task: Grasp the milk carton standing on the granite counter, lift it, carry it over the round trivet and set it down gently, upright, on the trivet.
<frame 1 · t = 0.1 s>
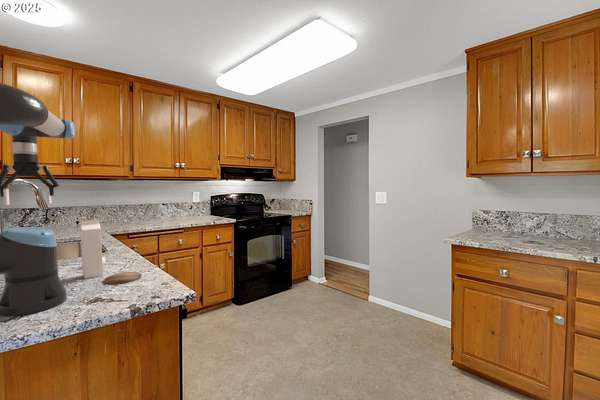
hand: (28, 204, 122), 28 cm above the countertop, fingers open, 13 cm apart
trivet: (123, 278, 110), on the countertop
cream rounded dome part: (96, 266, 128), on the countertop
milk: (93, 275, 115), on the countertop
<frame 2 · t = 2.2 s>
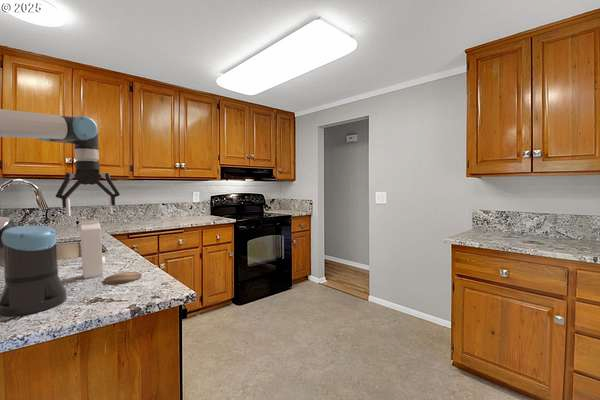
hand: (90, 215, 114), 24 cm above the countertop, fingers open, 13 cm apart
nothing on the countertop moved.
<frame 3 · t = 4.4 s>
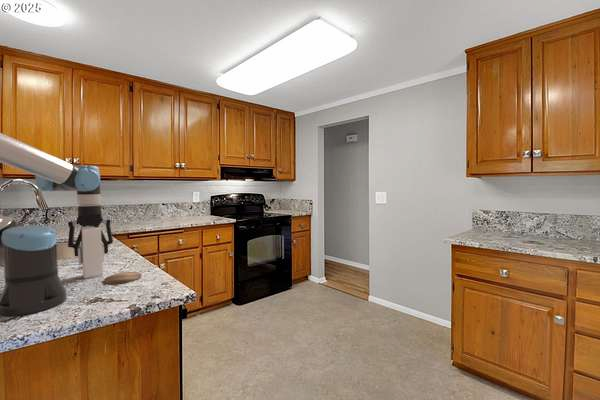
hand: (92, 262, 115), 5 cm above the countertop, fingers closed on milk, 7 cm apart
milk: (93, 275, 115), on the countertop, touching gripper
everything else where it was.
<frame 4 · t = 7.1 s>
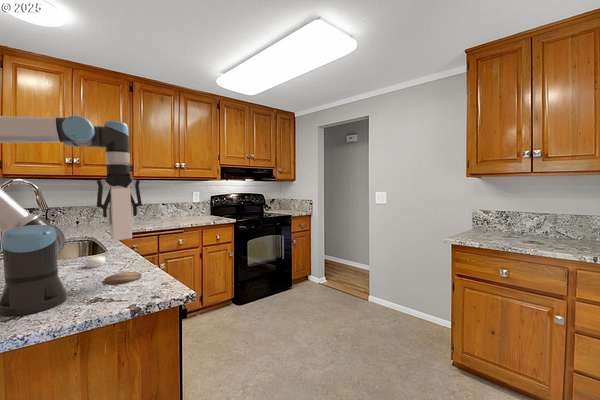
hand: (120, 225, 109), 21 cm above the countertop, fingers closed on milk, 7 cm apart
milk: (121, 238, 109), point 15 cm above the countertop, touching gripper
everything else where it was.
when the fingers open (7 cm above the countertop, at t = 9.9 s): milk stays where it is, resting on trivet.
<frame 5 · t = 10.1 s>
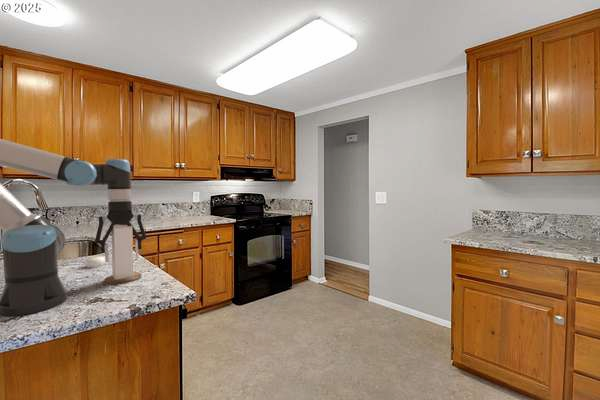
hand: (122, 259, 110), 8 cm above the countertop, fingers open, 9 cm apart
milk: (123, 276, 110), point 1 cm above the countertop, touching trivet
everything else where it was.
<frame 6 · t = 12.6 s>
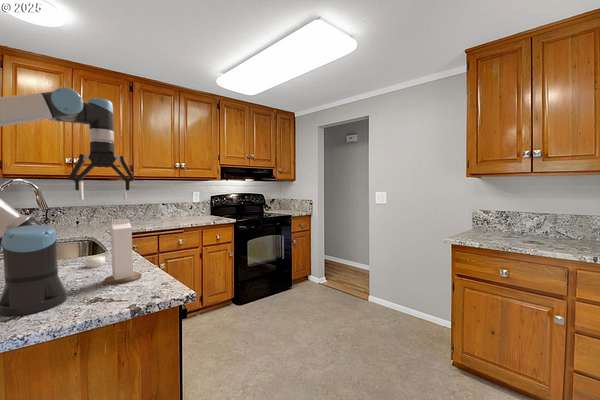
hand: (103, 199, 108), 30 cm above the countertop, fingers open, 13 cm apart
nothing on the countertop moved.
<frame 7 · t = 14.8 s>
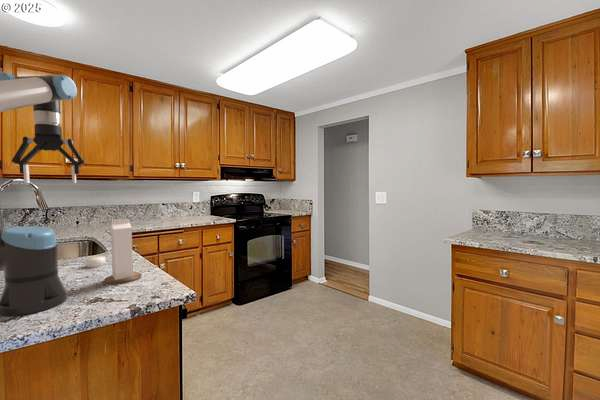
hand: (51, 183, 107), 37 cm above the countertop, fingers open, 13 cm apart
nothing on the countertop moved.
at the end: milk 0.1 cm from the trivet (horizontally); milk tilted 0°; milk point 0.7 cm above the countertop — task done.
